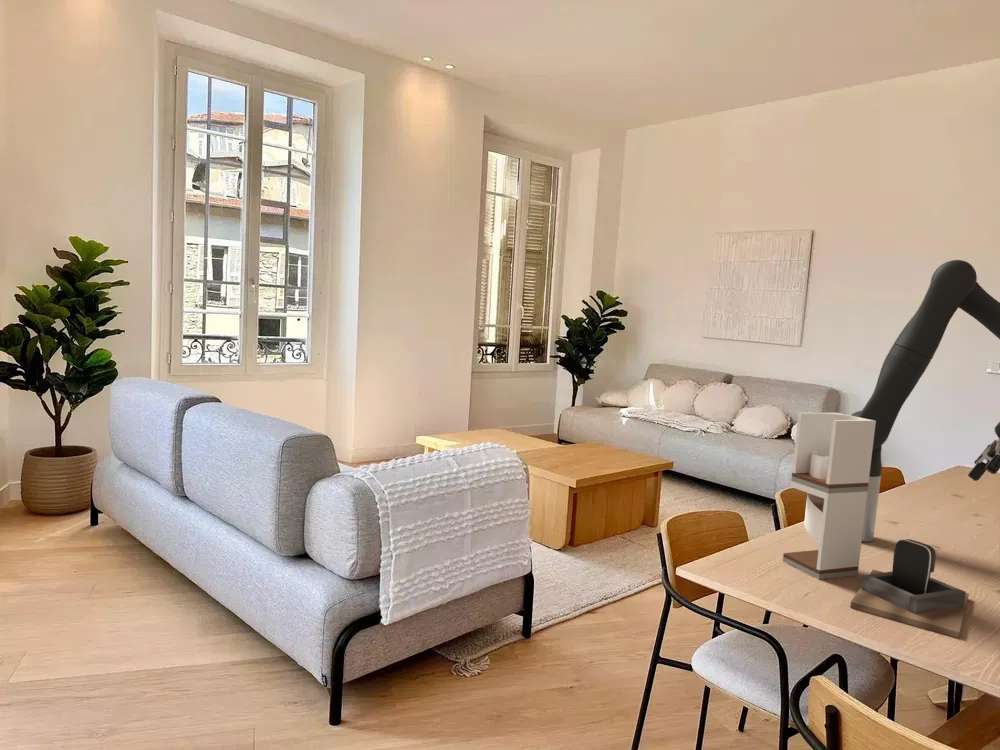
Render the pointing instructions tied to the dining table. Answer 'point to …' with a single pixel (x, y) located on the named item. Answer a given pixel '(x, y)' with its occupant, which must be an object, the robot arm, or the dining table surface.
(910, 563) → the battery charger
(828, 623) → the dining table surface
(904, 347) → the robot arm
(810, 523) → the white shelf stand
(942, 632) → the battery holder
